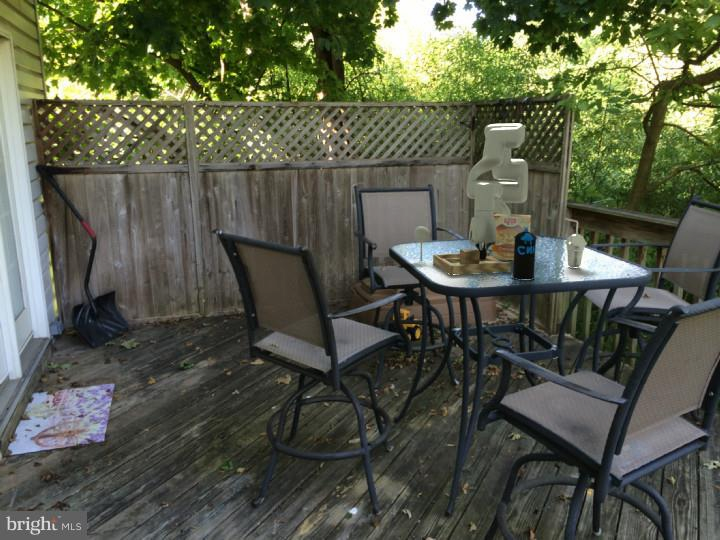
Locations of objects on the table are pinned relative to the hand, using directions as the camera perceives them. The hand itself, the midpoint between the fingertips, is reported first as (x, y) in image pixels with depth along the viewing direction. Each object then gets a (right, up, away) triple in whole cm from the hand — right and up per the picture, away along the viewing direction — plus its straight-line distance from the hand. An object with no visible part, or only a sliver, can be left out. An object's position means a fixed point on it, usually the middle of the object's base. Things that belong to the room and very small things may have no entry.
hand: (482, 259), depth 234 cm
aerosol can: (+13, -8, -13) cm, 20 cm away
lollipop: (-22, 0, +21) cm, 31 cm away
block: (-5, -2, -1) cm, 6 cm away
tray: (-3, -3, +5) cm, 7 cm away
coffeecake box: (+16, 0, +20) cm, 26 cm away
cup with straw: (+38, -3, +3) cm, 38 cm away
